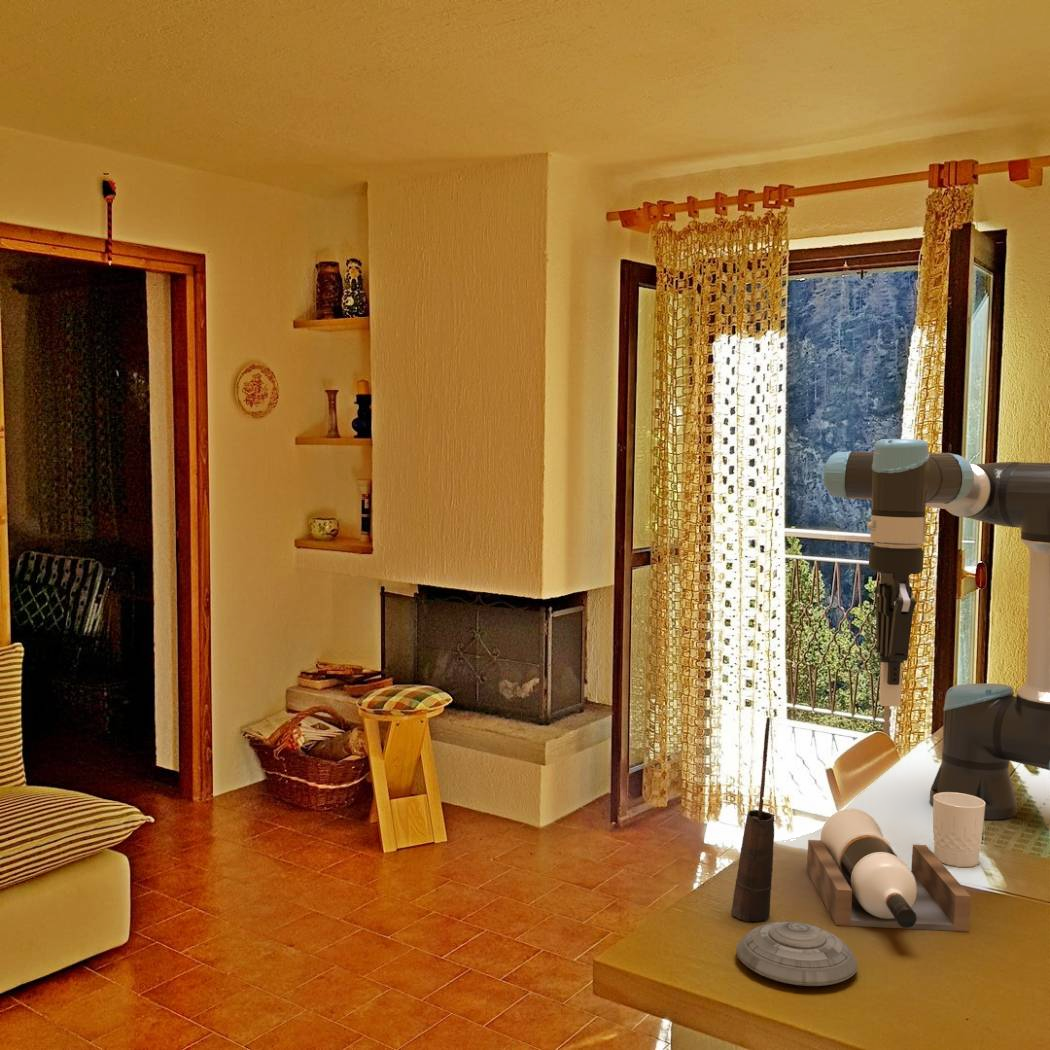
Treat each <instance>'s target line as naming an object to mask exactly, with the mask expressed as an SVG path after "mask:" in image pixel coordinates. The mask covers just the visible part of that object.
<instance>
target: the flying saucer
mask: <svg viewBox="0 0 1050 1050" xmlns="http://www.w3.org/2000/svg"><path fill="white" fill-rule="evenodd" d="M735 951H736V952H735V953H736V955H737V957H738V959H739V960H740V961H741V962H742V963H743V965H744V966H746V967H747V968H749V969H750V970H752V971H753V972H755V973H756V974H759V975H760V976H763V977H765V978H767V979H770V980H773V981H776V982H780V983H784V984H789V985H796V986H803V987H806V986H807V987H821V986H830V985H835V984H839V983H841V982H844V981H847V980H848V979H850V978H851V977H853V976H854V975H855V974H856V973H857V971H858V969H859V962H858V960H857V958H856V955H854V952H853V951H852V950H851V949H850V947H849V946H848V945H847V944H846V943H845V942H844V941H843V940H842V939H841V938H840V937H838V936H836V935H835V934H833V933H832V932H830V931H828V930H826V929H824V928H822V927H820V926H817V925H813V924H810V923H807V922H801V921H794V920H793V921H791V920H790V921H789V920H787V921H784V920H782V921H773V922H769V923H765V924H762V925H759V926H756V927H754V928H753V929H751V930H750V931H748V932H747V933H746V934H745V935H743V937H742V938H741V939H740V940H739V941H738V943H737V945H736V947H735Z"/></svg>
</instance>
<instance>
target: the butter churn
mask: <svg viewBox="0 0 1050 1050" xmlns="http://www.w3.org/2000/svg"><path fill="white" fill-rule="evenodd" d="M770 718H771V717H770V716H767V717H766V723H765V729H764V737H763V738H764V740H763V751H762V768H761V779H760V788H759V789H760V790H759V803H758V809H753V810H749V811H748V812H747V815H746V820H745V825H744V829H743V837H742V840H741V841H742V842H741V848H740V853H739V860H738V867H737V869H738V870H737V875H736V879H735V884H734V892H733V897H732V898H733V899H732V906H731V914H732V916H733V917H735V918H737V919H739V920H740V921H744V922H747V923H750V922H753V921H754V922H765V921H768V920H769V919H770V912H771V898H772V897H771V892H772V880H773V879H772V878H773V864H774V845H775V844H774V843H775V842H774V841H775V814H773V813H770V812H767V811H763V808H764V799H763V798H764V796H765V785H766V770H767V762H768V747H769V739H770V738H769V737H770V735H769V734H770V725H771V724H770V723H771V719H770Z"/></svg>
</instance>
